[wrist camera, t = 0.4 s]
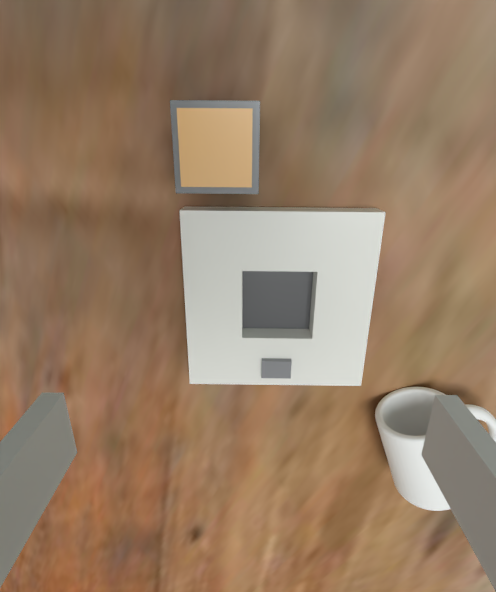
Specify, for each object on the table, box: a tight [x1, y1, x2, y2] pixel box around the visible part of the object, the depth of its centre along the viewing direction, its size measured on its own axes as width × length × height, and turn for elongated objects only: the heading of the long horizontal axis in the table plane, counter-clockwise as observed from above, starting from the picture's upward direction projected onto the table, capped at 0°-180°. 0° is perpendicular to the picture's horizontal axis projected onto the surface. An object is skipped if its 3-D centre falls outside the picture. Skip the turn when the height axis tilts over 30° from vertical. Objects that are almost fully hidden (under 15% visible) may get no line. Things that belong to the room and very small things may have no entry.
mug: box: [375, 387, 496, 511], centre depth 40 cm, size 12×10×8 cm
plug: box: [170, 100, 260, 194], centre depth 28 cm, size 6×6×10 cm
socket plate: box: [179, 206, 386, 386], centre depth 36 cm, size 18×18×3 cm
